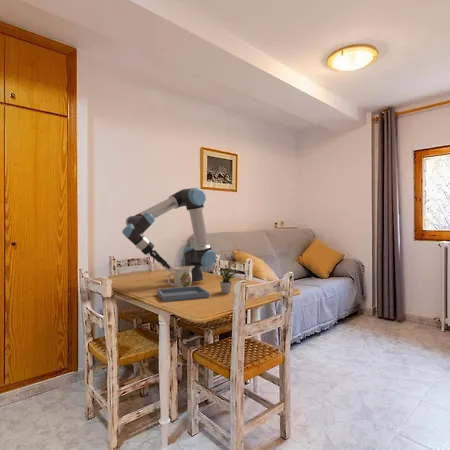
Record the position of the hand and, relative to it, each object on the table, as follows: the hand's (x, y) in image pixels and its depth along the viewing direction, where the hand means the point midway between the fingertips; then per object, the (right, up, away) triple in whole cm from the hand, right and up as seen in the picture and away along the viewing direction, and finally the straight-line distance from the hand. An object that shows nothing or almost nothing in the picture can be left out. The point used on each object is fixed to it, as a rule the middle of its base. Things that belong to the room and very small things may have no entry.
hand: (170, 270), depth 197 cm
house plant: (+33, -13, -5) cm, 35 cm away
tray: (+9, -13, -14) cm, 21 cm away
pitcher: (+6, -12, +3) cm, 14 cm away
